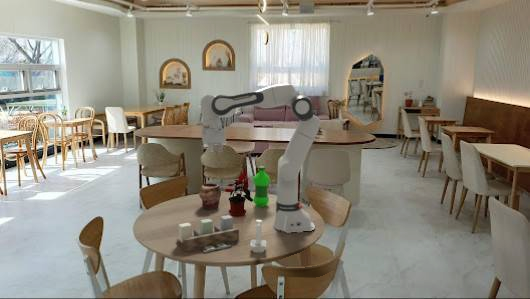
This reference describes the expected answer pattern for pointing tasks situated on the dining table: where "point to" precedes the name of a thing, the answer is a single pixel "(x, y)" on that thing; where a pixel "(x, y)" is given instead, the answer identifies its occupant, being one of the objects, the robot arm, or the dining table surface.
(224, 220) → the pale blue upright block
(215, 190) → the decorative planter
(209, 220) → the sage key
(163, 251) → the dining table surface
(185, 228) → the cream rectangular block
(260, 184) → the plastic bottle
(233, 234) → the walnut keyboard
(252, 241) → the white upright post stand
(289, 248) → the dining table surface
